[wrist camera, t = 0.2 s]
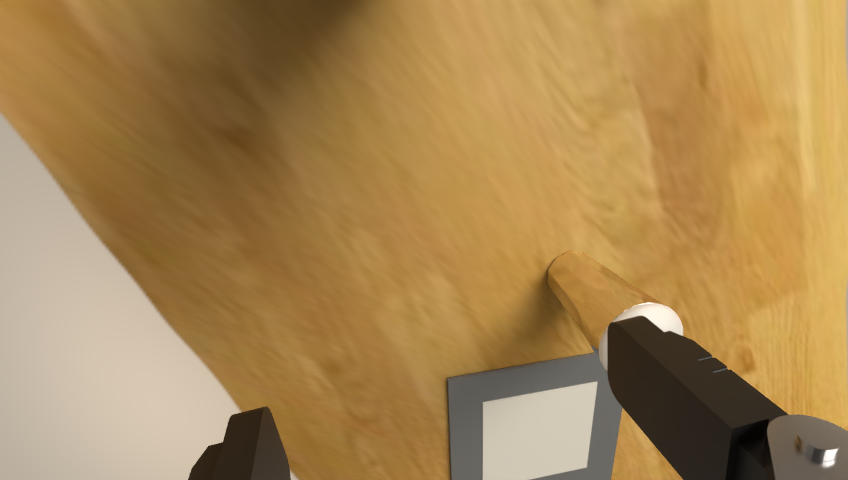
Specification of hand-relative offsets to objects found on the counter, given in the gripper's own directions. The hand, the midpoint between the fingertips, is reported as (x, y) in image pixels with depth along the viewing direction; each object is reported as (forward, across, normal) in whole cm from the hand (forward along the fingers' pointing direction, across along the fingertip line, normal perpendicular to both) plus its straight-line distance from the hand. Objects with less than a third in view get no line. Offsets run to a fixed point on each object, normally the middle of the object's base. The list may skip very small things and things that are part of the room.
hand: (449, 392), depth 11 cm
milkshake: (+18, -12, +8) cm, 23 cm away
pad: (+18, -9, +22) cm, 30 cm away
